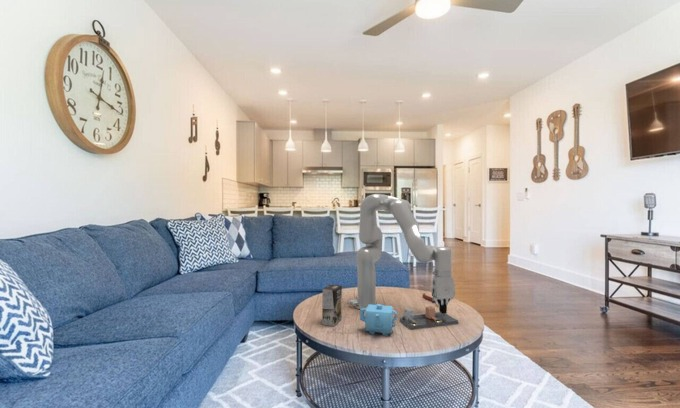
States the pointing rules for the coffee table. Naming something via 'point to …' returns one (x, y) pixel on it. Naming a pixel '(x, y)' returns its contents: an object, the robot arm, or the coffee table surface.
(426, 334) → the coffee table surface
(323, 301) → the coffee box
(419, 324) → the plate
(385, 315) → the teapot
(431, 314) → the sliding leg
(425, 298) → the pliers
